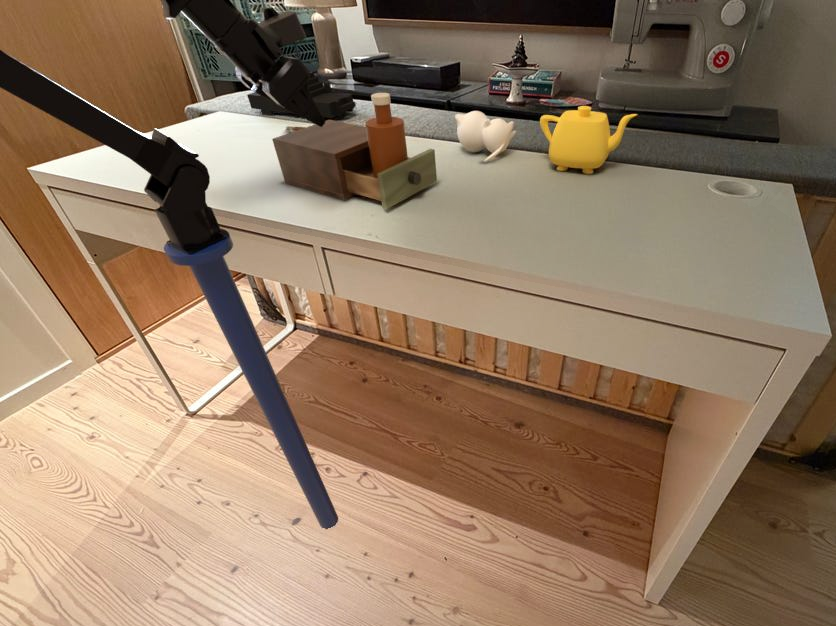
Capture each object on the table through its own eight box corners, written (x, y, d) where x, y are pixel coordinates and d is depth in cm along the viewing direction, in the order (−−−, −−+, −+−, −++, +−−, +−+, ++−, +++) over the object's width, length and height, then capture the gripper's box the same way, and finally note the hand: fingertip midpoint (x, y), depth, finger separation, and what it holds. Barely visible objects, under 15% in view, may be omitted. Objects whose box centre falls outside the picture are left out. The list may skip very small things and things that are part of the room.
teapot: (629, 161, 94) (640, 103, 87) (623, 181, 86) (635, 119, 79) (543, 152, 99) (547, 96, 91) (530, 170, 91) (534, 111, 84)
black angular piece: (280, 103, 133) (269, 62, 126) (364, 112, 124) (357, 69, 118) (249, 113, 125) (236, 71, 118) (337, 124, 116) (327, 79, 109)
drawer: (443, 182, 85) (440, 150, 81) (393, 210, 76) (388, 176, 72) (373, 165, 92) (367, 135, 88) (320, 189, 83) (312, 157, 80)
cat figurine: (513, 105, 91) (460, 97, 95) (494, 149, 89) (440, 139, 93) (520, 138, 100) (470, 129, 103) (502, 178, 98) (452, 168, 101)
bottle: (394, 191, 80) (382, 101, 71) (367, 183, 83) (352, 96, 73) (417, 179, 84) (408, 93, 75) (391, 172, 87) (379, 88, 77)
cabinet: (396, 175, 90) (390, 131, 85) (344, 200, 82) (334, 154, 76) (338, 160, 97) (329, 119, 91) (285, 182, 88) (271, 138, 83)
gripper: (286, -18, 57) (369, 90, 69) (245, -19, 69) (323, 74, 81) (228, 50, 57) (321, 146, 69) (197, 38, 69) (282, 122, 81)
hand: (312, 119), depth 75 cm, fingers open, 9 cm apart
